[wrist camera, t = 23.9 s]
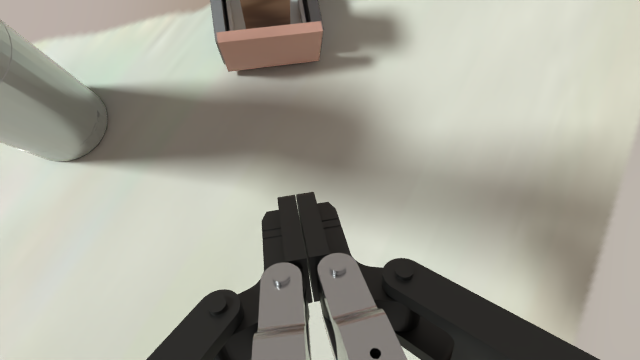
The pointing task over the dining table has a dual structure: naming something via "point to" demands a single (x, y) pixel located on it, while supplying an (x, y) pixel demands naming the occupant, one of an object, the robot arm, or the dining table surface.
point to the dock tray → (269, 40)
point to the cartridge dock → (223, 22)
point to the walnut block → (265, 13)
